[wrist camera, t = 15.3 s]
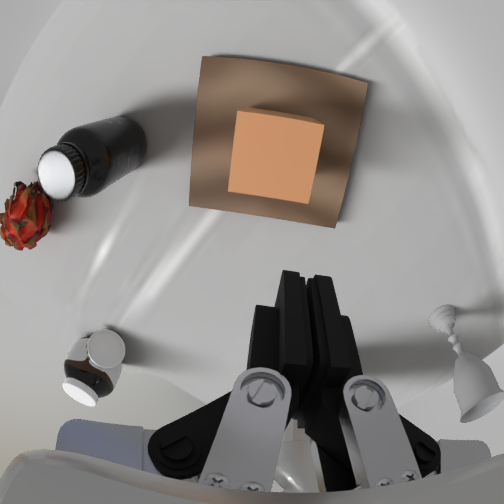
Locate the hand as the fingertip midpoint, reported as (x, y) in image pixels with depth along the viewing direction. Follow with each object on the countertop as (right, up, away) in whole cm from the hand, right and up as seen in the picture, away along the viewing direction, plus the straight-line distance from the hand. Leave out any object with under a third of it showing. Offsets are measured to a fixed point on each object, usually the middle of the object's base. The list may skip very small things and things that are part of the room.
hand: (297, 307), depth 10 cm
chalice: (+29, -8, +29) cm, 41 cm away
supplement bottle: (-16, +14, +19) cm, 29 cm away
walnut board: (+1, +13, +18) cm, 22 cm away
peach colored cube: (+1, +12, +16) cm, 20 cm away
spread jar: (-29, -15, +38) cm, 50 cm away
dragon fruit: (-32, +9, +24) cm, 41 cm away
